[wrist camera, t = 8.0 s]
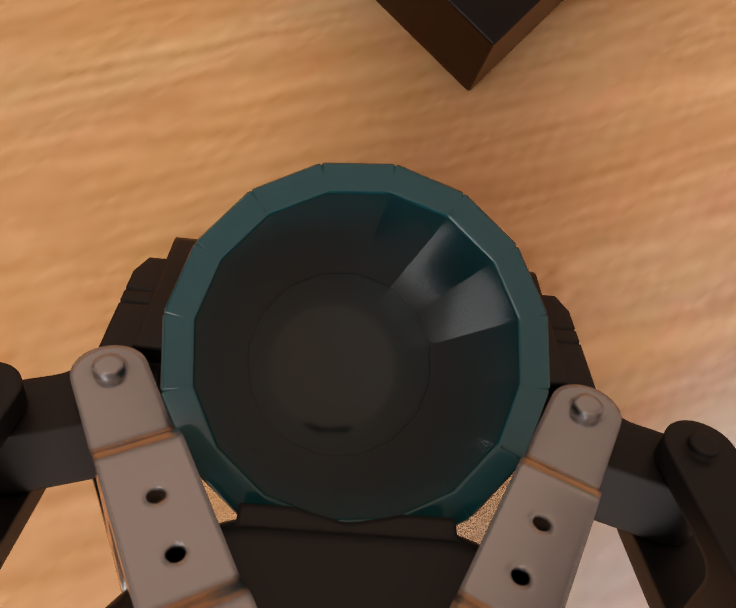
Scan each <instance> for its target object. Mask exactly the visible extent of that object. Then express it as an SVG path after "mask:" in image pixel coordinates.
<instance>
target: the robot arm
mask: <svg viewBox="0 0 736 608" xmlns="http://www.w3.org/2000/svg"><path fill="white" fill-rule="evenodd" d="M197 240H198V239H189V238H179V237H176V238H175V240H174V242H173V245H172V247H171V250H170V252H169V255H168V257H167V259H160V258H149V259H147V260H146V261H145V262H144V263H142V264H141V265H140V266H139V267H138V268H136V269H135V270H134V271H133V273H132V275H131V278H130V280H129V282H128V284H127V286H126V290H125V291H124V293H123V295H122V297H121V301H120V303H119V304H118V306H117V308H116V310H115V313H114V315H113V317H112V319H111V321H110V324H109V326H108V328H107V330H106V332H105V335H104V337H103V339H102V341H101V343H100V345H99V348H95V349H93V350H91V351H88V352H87V353H85V354H83V355H82V356H81V357H79V358H78V359H77V360H76V361H75V363H74V364H73V366H72V368H71V370H70V371H68V372H65V373H62V374H57V375H52V376H45V377H38V378H32V379H25V380H22V378H21V375H20V373H19V372H18V371H17V370H16V369H15V368H14V367H12V366H11V365H8V364H6V363H2V362H0V569H1V567H2V565H3V564H4V562H5V560H6V558H7V557H8V555H9V553H10V551H11V550H12V548H13V546H14V544H15V542H16V541H17V539H18V537H19V535H20V534H21V532H22V530H23V528H24V527H25V525H26V523H27V521H28V519H29V518H30V516H31V514H32V512H33V511H34V509H35V507H36V505H37V504H38V502H39V500H40V498H41V497H42V495H43V493H44V491H45V489H46V488H48V487H53V486H58V485H63V484H68V483H73V482H78V481H84V480H89V479H92V480H93V483H94V487H95V491H96V495H97V498H98V502H99V506H100V510H101V513H102V517H103V521H104V525H105V528H106V532H107V536H108V540H109V543H110V547H111V551H112V555H113V559H114V564H115V568H116V572H117V576H118V580H119V584H120V588H121V592H122V593H121V594H120V595H119V596H118V597H117V598H116V599H115V600H113V601H112V602H111V603H110V604H109V605H108V606H107V607H106V608H565V605H566V602H567V599H568V596H569V593H570V590H571V587H572V584H573V581H574V578H575V575H576V572H577V569H578V565H579V562H580V559H581V556H582V553H583V550H584V547H585V544H586V541H587V538H588V535H589V532H590V529H591V526H592V523H593V520H596V521H598V522H601V523H604V524H607V525H609V526H612V527H615V528H617V530H618V533H619V536H620V538H621V540H622V543H623V545H624V548H625V550H626V552H627V555H628V557H629V560H630V562H631V564H632V567H633V569H634V572H635V574H636V576H637V579H638V581H639V584H640V586H641V588H642V591H643V593H644V596H645V598H646V600H647V603H648V605H649V608H736V449H735V447H734V446H733V444H732V443H731V442H730V441H729V440H728V439H727V438H726V437H725V436H724V435H723V434H721V433H720V432H718V431H717V430H715V429H713V428H712V427H710V426H707V425H705V424H702V423H699V422H695V421H688V420H683V421H677V422H674V423H672V424H670V425H669V426H668V427H667V429H666V430H665V432H664V434H663V433H660V432H657V431H654V430H651V429H648V428H645V427H642V426H639V425H636V424H634V423H631V422H629V421H627V420H625V419H623V418H621V414H620V411H619V409H618V407H617V406H616V404H615V403H614V402H613V401H612V400H611V399H610V398H609V397H608V396H606V395H605V394H604V393H602V392H600V391H598V390H596V388H595V385H594V383H593V380H592V377H591V374H590V371H589V368H588V365H587V362H586V359H585V356H584V354H583V351H582V348H581V345H579V339H578V336H577V333H576V331H574V329H575V328H574V325H573V322H572V319H571V316H570V313H569V311H568V310H567V309H566V308H565V307H564V306H563V305H562V303H561V302H560V301H559V300H558V299H557V298H556V297H555V296H546V295H542V293H541V290H540V287H539V283H538V280H537V277H536V274H535V273H534V272H529V273H530V275H531V277H532V279H533V282H534V284H535V286H536V289H537V291H538V293H539V295H540V298H541V300H542V302H543V305H544V307H545V309H546V314H545V315H547V316H548V335H549V368H550V388H549V389H548V391H549V394H548V397H547V399H546V402H545V405H544V407H543V410H542V413H541V416H540V418H539V421H538V424H537V426H536V429H535V432H534V434H533V437H532V440H531V443H530V445H529V448H528V451H527V453H526V456H525V455H522V457H521V459H520V461H519V463H518V465H517V467H516V470H515V472H514V474H513V476H512V478H511V480H510V482H509V484H508V487H507V489H506V491H505V493H504V495H503V497H502V499H501V501H500V503H499V506H498V508H497V510H496V512H495V514H494V516H493V518H492V520H491V523H490V525H489V527H488V529H487V531H486V533H485V535H484V537H483V540H482V542H481V544H480V545H479V544H477V543H475V542H473V541H471V540H469V539H466V538H464V537H461V536H458V535H457V531H456V521H455V518H445V517H431V516H417V515H397V516H391V517H385V518H378V519H372V520H366V521H360V522H354V523H346V522H341V521H338V520H335V519H332V518H328V517H325V516H322V515H319V514H315V513H312V512H309V511H306V510H302V509H299V508H296V507H291V506H277V505H263V504H249V503H239V507H238V513H237V519H236V520H230V521H225V522H221V523H218V520H217V518H216V515H215V513H214V510H213V508H212V505H211V503H210V500H209V498H208V495H207V493H206V490H205V488H204V485H203V483H202V480H201V478H200V476H199V473H198V471H197V468H196V466H195V463H194V461H193V458H192V456H191V453H190V451H189V448H188V446H187V443H186V441H185V438H184V436H183V434H182V432H181V430H180V429H179V428H174V426H173V423H172V420H171V418H170V415H169V413H168V410H167V408H166V405H165V403H164V400H163V398H162V392H163V391H162V390H161V352H162V317H163V315H164V314H165V313H164V309H165V307H166V304H167V302H168V300H169V298H170V296H171V293H172V291H173V289H174V287H175V284H176V282H177V280H178V278H179V276H180V273H181V271H182V269H183V267H184V265H185V262H186V260H187V258H188V256H189V253H190V251H191V249H192V247H193V245H194V244H197V243H196V242H197Z"/></svg>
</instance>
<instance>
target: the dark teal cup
mask: <svg viewBox="0 0 736 608" xmlns="http://www.w3.org/2000/svg"><path fill="white" fill-rule="evenodd" d="M196 243H197V244H194V245H193V247H192V249H191V251H190V253H189V256H188V258H187V260H186V262H185V265H184V267H183V269H182V271H181V273H180V276H179V278H178V280H177V282H176V284H175V287H174V289H173V291H172V293H171V296H170V298H169V300H168V302H167V304H166V307H165V309H164V313H165V314H164V315H163V317H162V352H161V390H162V391H163V392H162V398H163V400H164V403H165V405H166V408H167V410H168V413H169V415H170V418H171V420H172V423H173V426H174V428H179V429H180V430H181V432H182V434H183V436H184V438H185V441H186V443H187V446H188V448H189V451H190V453H191V456H192V458H193V461H194V463H195V466H196V468H197V471H198V473H199V476H200V477H201V478H202V479H203V480H204V481H205V482H206V483H207V485H208V486H209V487H210V488H211V489H212V490H213V491H214V492H215V493H216V494H217V495H218V496H219V497H220V498H221V499H222V500H223V501H224V502H225V503H226V504H227V505H228V506H229V507H230V508H231V509H232V510H233V511H234V512H235V513H236V514H237V513H238V507H239V503H249V504H263V505H277V506H291V507H296V508H299V509H302V510H306V511H309V512H312V513H315V514H319V515H322V516H325V517H328V518H332V519H335V520H338V521H341V522H346V523H354V522H360V521H366V520H372V519H378V518H385V517H391V516H397V515H417V516H431V517H445V518H455V521H456V525H459V524H461V523H463V522H465V521H467V520H469V518H470V517H472V516H474V515H475V514H476V512H477V511H478V510H479V509H480V508H481V507H482V506H483V505H484V504H485V503H486V502H487V501H488V499H489V498H490V497H491V496H492V495H493V494H494V493H495V492H496V491H497V490H498V489H499V488H500V487H501V485H502V484H503V483H504V482H505V481H506V480H507V479H508V478H509V477H510V476H511V475H512V474H513V472H514V471H515V470H516V467H517V465H518V463H519V461H520V459H521V457H522V455H525V456H526V453H527V451H528V448H529V445H530V443H531V440H532V437H533V434H534V432H535V429H536V426H537V424H538V421H539V418H540V416H541V413H542V410H543V407H544V405H545V402H546V399H547V397H548V394H549V391H548V389H549V388H550V368H549V335H548V316H547V315H545V314H546V309H545V307H544V305H543V302H542V300H541V298H540V295H539V293H538V291H537V289H536V286H535V284H534V282H533V279H532V277H531V275H530V273H529V270H528V268H527V266H526V263H525V261H524V259H523V257H522V254H521V252H520V250H519V248H518V247H516V244H515V242H514V241H513V240H512V239H511V238H510V237H509V236H508V235H507V234H506V233H505V232H504V231H503V230H502V229H501V228H500V227H499V226H498V225H497V224H496V223H495V222H494V221H492V220H491V219H490V218H489V217H488V216H487V215H486V214H485V213H484V212H483V211H482V210H481V209H480V208H479V207H478V206H477V205H476V204H475V203H474V202H473V201H472V200H471V199H470V198H469V197H468V196H467V195H465V194H464V195H463V193H462V192H461V191H459V190H456V189H454V188H452V187H449V186H447V185H445V184H442V183H440V182H437V181H435V180H433V179H430V178H428V177H426V176H423V175H421V174H419V173H416V172H414V171H411V170H409V169H407V168H404V167H402V166H400V165H396V166H395V165H394V164H370V163H323V164H322V165H321V164H316V165H314V166H311V167H308V168H306V169H303V170H300V171H298V172H295V173H293V174H290V175H287V176H285V177H282V178H280V179H277V180H274V181H272V182H269V183H267V184H264V185H261V186H259V187H256V188H254V189H253V190H252V192H251V191H250V192H247V193H246V194H245V195H244V196H243V197H242V198H241V199H240V200H239V201H238V202H237V203H236V204H235V205H234V206H233V207H232V208H230V209H229V210H228V211H227V212H226V213H225V214H224V215H223V216H222V217H221V218H220V219H219V220H218V221H217V222H216V223H214V224H213V225H212V226H211V227H210V228H209V229H208V230H207V231H206V232H205V233H204V234H203V235H202V236H201V237H200V238H198V240H197V242H196Z"/></svg>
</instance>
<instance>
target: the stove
mask: <svg viewBox="0 0 736 608" xmlns="http://www.w3.org/2000/svg"><path fill="white" fill-rule="evenodd" d="M376 1H377V2H378V3H379V4H380V5H381V6H382V7H384V8H385V9H386V10H387V11H388V12H389V13H390V14H391V15H392V16H393V17H394V18H395V19H396V20H397V21H398V22H399V23H400V24H401V25H402V26H403V27H404V28H405V29H406V30H407V31H408V32H409V33H410V34H411V35H412V36H413V37H414V38H415V39H416V40H417V41H418V42H419V43H420V44H421V45H422V46H423V47H424V48H425V49H426V50H427V51H428V52H429V53H430V54H431V55H432V56H433V57H434V58H435V59H436V60H437V61H438V62H439V63H440V64H441V65H442V66H443V67H444V68H445V69H446V70H447V71H449V72H450V73H451V74H452V75H453V76H454V77H455V78H456V79H457V80H458V81H459V82H460V83H461V84H462V85H463V86H464V87H465V88H466V89H467V90H468V91H469V90H471V89H472V88H473V87H474V86H475V85H476V84H477V83H478V82H479V81H480V80H481V79H482V78H483V77H484V76H485V75H486V74H487V73H488V72H489V71H490V70H491V69H492V68H494V67H495V66H496V65H497V64H498V63H499V62H500V61H501V60H502V59H503V58H504V57H505V56H506V55H507V54H508V53H509V52H510V51H511V50H512V49H513V48H514V47H515V46H516V45H517V44H518V43H519V42H520V41H521V40H522V39H523V38H525V37H526V36H527V35H528V34H529V33H530V32H531V31H532V30H533V29H534V28H535V27H536V26H537V25H538V24H539V23H540V22H541V21H542V20H543V19H544V18H545V17H546V16H547V15H548V14H549V13H550V12H551V11H552V10H553V9H554V8H556V7H557V6H558V5H559V4H560V3H561V2H562V1H563V0H376Z"/></svg>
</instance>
